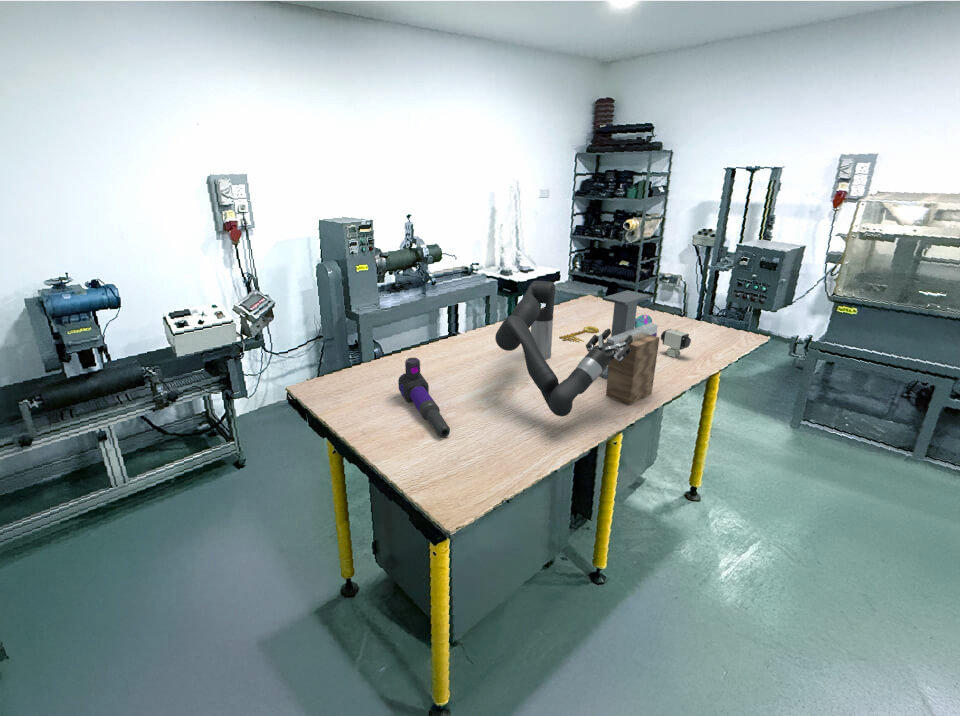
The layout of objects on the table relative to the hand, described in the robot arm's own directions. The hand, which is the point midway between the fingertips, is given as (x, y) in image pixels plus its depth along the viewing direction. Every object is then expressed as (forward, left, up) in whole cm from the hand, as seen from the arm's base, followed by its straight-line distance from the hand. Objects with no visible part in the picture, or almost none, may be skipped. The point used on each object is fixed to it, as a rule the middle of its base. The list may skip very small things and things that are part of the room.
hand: (620, 333), depth 165 cm
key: (-22, +68, -27) cm, 76 cm away
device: (-59, -29, -26) cm, 71 cm away
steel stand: (-1, +27, -26) cm, 37 cm away
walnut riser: (+5, +8, -26) cm, 28 cm away
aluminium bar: (+4, +7, -4) cm, 9 cm away
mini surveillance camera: (+20, +55, -26) cm, 64 cm away
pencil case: (+7, +75, -26) cm, 80 cm away
